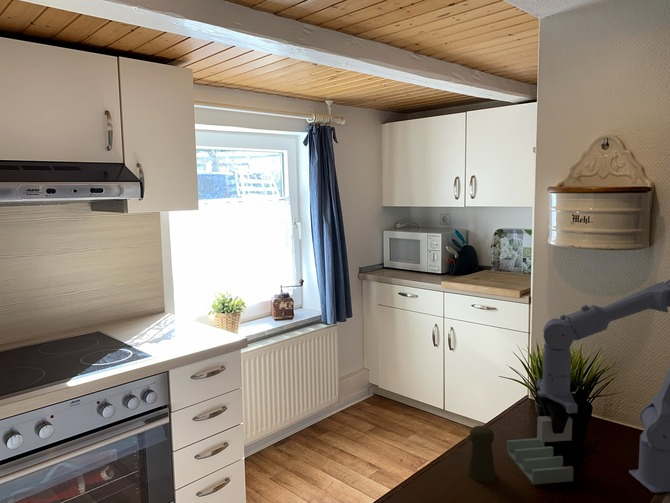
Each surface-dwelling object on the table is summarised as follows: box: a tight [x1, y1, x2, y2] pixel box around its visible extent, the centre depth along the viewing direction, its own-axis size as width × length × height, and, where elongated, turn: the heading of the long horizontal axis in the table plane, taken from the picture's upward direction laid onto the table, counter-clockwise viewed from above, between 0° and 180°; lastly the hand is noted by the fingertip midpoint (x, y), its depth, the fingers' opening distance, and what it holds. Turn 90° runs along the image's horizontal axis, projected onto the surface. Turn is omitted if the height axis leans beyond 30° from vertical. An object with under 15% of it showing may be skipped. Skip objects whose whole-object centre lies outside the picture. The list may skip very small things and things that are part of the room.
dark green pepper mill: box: [467, 425, 496, 483], centre depth 116 cm, size 6×6×11 cm
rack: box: [506, 437, 574, 485], centre depth 119 cm, size 9×14×3 cm, turn 5°
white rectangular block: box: [536, 415, 573, 443], centre depth 119 cm, size 7×2×5 cm, turn 95°
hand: (554, 429), depth 119 cm, fingers closed on white rectangular block, 2 cm apart
